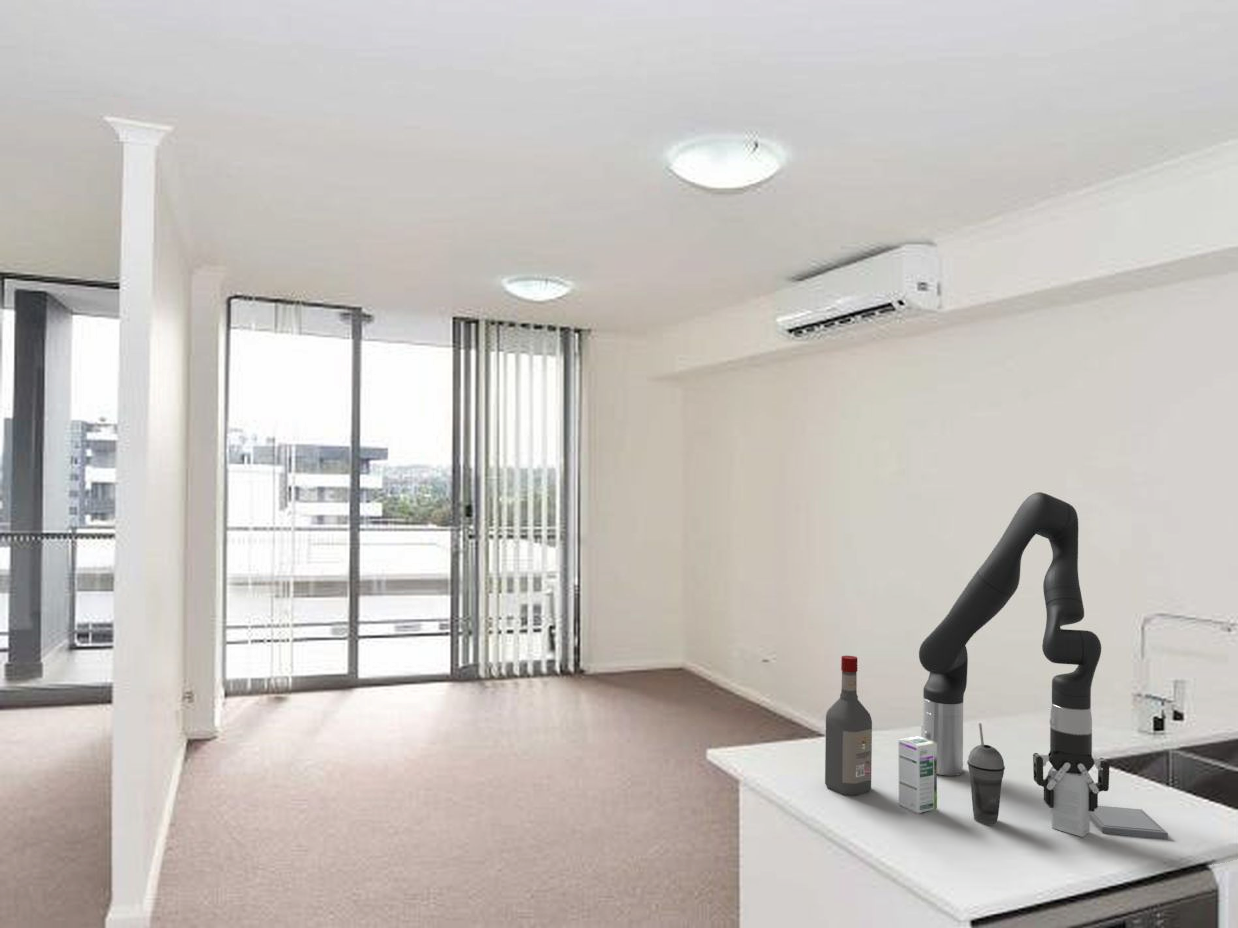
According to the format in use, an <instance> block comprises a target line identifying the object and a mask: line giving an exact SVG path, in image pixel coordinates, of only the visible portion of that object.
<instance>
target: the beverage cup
mask: <svg viewBox="0 0 1238 928" xmlns="http://www.w3.org/2000/svg"><path fill="white" fill-rule="evenodd" d="M978 728H979V737H980V738H979V739H980V744H979V745H977V746H975V747H974V748H972V749H971V751H970V752H969V754H968V757H967V758H968V760H967V763H966V764H967V765H968V767H967V768H968V773H969V777H970V779H969V780H970V787H971V788H970V789H971V790H970V791H971V801H972V804H971V805H972V813H973V820H974V821H975V822H977V823H980V824H982V825H989V826H991V825H992V826H993V825H997V824H998V818H999V814H1000V813H999V812H1000V811H999V810H1000V802H1001V793H1002V792H1001V791H1002V783H1003V778H1004V774H1005V770H1006V767H1005V762H1004V758H1003V756H1002V754H1001V753H1000V751H998V750H997V748H995V747H993V746H992V745H989V744H985V743H984V733H983V725H982V723H978Z"/></svg>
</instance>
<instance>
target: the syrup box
mask: <svg viewBox="0 0 1238 928" xmlns="http://www.w3.org/2000/svg"><path fill="white" fill-rule="evenodd" d="M937 790H938V774H937V743H936V742H934V741H931V740H929V739H926V738H923V737H921V736H918V735H916V736H912V737H905V738H900V739H898V805H899V806H901V807H903V808H905V809H907V810H909V811H911V812H914V813H915V814H921V813H925V812H928V811H933V810H934V811H935V810H937V809H938V791H937Z"/></svg>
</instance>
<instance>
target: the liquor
mask: <svg viewBox="0 0 1238 928" xmlns="http://www.w3.org/2000/svg"><path fill="white" fill-rule="evenodd" d="M840 670H841V690H840V691H841V692H840V694H839V696H840V697H839V698H838V699H837V700H836V701H835V702H834V703H833V704H832V705H831V706H830V707H829V708H828V709H827V711H826V714H825V751H824V753H825V754H824V755H825V760H824V761H825V762H824V763H825V765H824V766H825V767H824V768H825V770H824V772H825V773H824V784H825V786H826V788H827V789H830V790H832V791H833V792H836V793H839V794H840V795H843V796H853V797H854V796H859V795H863V794H866V793H870V791H871V790H872V763H873V762H872V757H873V756H872V755H873V754H872V752H873V748H872V747H873V742H872V741H873V721H872V720H873V719H872V716H871V714H870V712H869V711H868V709H867V708H866V707H865V706H864V705H863V704H862V702H861V701H860V700H859V699H858V698H859V696H858V694H857V693H858V691H857V688H858V687H857V686H858V685H857V684H858V683H857V679H858V678H857V677H858V675H857V673H858V657H857V656H854V655H841V661H840Z"/></svg>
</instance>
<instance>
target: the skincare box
mask: <svg viewBox="0 0 1238 928" xmlns="http://www.w3.org/2000/svg"><path fill="white" fill-rule="evenodd" d="M1056 772H1057V771H1056V770H1055V769H1052V770H1051V773H1053V774H1055V773H1056ZM1053 790H1054V808H1051V828H1052V829H1054V830H1058V831H1060V832H1064V833H1067V834H1070V835H1075V836H1078V837H1081V838H1083V837H1084V836H1086V835H1087V834H1088V833H1089V832H1090V828H1091V827H1090V821H1091V820H1090V815H1089V785H1088V783H1087V781H1086V775H1082V774H1075V773H1065V774H1064V775H1063V777H1062V778H1061V780H1060V781H1059V782H1057V783H1056V785H1055V786H1054V787H1053Z"/></svg>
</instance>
